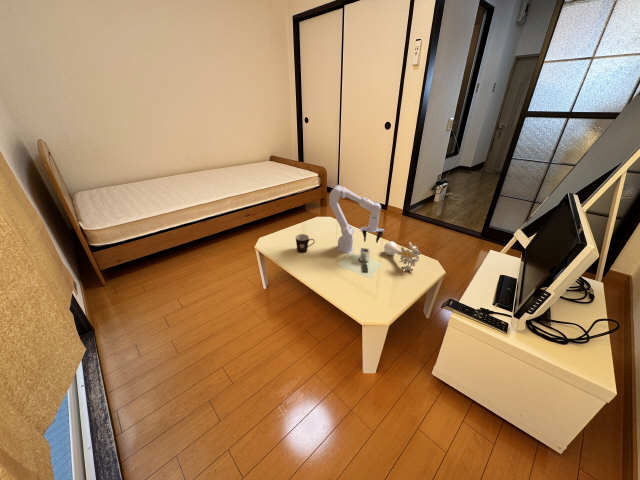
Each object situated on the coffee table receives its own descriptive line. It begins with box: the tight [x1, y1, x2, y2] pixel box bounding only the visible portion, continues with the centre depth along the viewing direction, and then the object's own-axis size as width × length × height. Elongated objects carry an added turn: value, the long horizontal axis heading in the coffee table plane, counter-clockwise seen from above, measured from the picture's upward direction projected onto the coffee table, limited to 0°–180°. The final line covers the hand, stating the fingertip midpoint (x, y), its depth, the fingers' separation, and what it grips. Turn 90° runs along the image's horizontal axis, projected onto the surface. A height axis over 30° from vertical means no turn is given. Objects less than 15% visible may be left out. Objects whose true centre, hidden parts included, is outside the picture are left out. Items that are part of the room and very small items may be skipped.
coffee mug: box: [295, 233, 315, 254], centre depth 160 cm, size 12×9×10 cm
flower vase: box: [383, 240, 421, 271], centre depth 153 cm, size 13×18×25 cm
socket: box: [359, 247, 370, 261], centre depth 152 cm, size 5×5×6 cm
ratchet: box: [359, 257, 369, 273], centre depth 149 cm, size 16×6×4 cm, turn 176°
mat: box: [337, 251, 383, 279], centre depth 151 cm, size 22×18×1 cm
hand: (370, 241), depth 158 cm, fingers open, 7 cm apart
